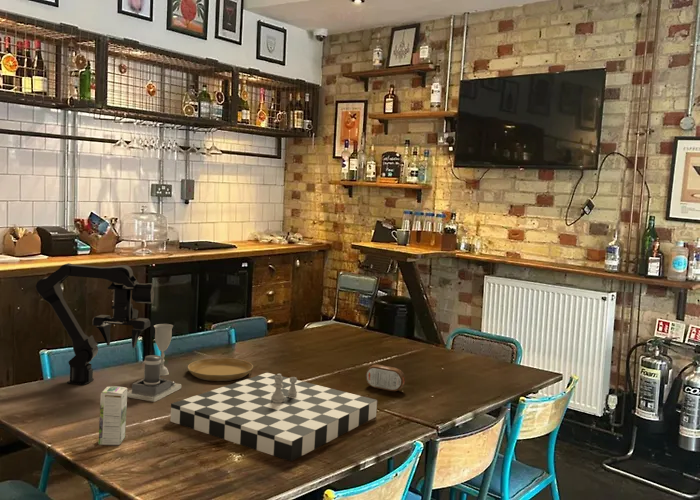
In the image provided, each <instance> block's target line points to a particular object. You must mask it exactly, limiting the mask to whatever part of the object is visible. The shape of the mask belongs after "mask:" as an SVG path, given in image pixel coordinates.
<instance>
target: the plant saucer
mask: <svg viewBox="0 0 700 500" xmlns="http://www.w3.org/2000/svg"><path fill="white" fill-rule="evenodd" d="M253 368H254V365H253V364H252V363H251V362H249V361H247V360H243V359H240V358H239V359H238V358H231V357H230V358H229V357H213V358H212V357H211V358H205V359H204V358H203V359H199V360H195V361H193V362H190V363H189V364H188V365H187V370H188V371H189V373H190V374H191V375H192V376H193V377H195V378H196V379H197V378H198V379H200V380H203V381H210V382H230V381H236V380H241V379H242V378H244V377H246V376H247V375H248V374H249V373H251V371H252V370H253Z"/></svg>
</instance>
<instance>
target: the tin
mask: <svg viewBox="0 0 700 500" xmlns="http://www.w3.org/2000/svg"><path fill="white" fill-rule="evenodd" d="M364 377H365V380H366V381H365V382H367V384H368V385H369V386H370V387H371V388H375V389H380V390H385V391H389V392H398V391H400V390H401V389H403V388H404V386H405V384H406V376H405V373H404V372H403V371H402V370H401V369H400V368H397V367H392V366H388V365H387V366H386V365H383V364H376V363H375V364H372V365H371V366H369V367H368V368H367V369H366V371H365V376H364Z"/></svg>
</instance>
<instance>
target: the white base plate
mask: <svg viewBox="0 0 700 500" xmlns="http://www.w3.org/2000/svg"><path fill="white" fill-rule="evenodd" d="M181 389H182V384H181V383H176V381H172V380H171V379H165V378H162V377H160V384H159V385H157V386H149V385H144V378H142V379H140V380H138V381H135V382H133V383H132V384H131V389H129V390H127V398H129V399H130V398H131V399H136V400H140V401H141V400H143V401H148V402H153V403H155V402H157V401H159V400H161V399H164V398H165V397H167V396H169V395H171V394H172V393H175V392H177V391H178V390H181Z"/></svg>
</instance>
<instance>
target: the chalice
mask: <svg viewBox="0 0 700 500" xmlns="http://www.w3.org/2000/svg"><path fill="white" fill-rule="evenodd" d="M153 327H154V331H155V333H154V341H155V344H156V346H157V348H158V350H159V351H160V352H161V354H160V357H161V363H160V377H162V376H168V375H169V374H170V373H169V370H168V368H167V366H165V361H166V360H165V351H167V350H168V347H169V346H170V344H171V341H172V333H173V331H172V329H173V327H174V325H173V324H169V323H158V324H157V323H156V324H155V325H153Z"/></svg>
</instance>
